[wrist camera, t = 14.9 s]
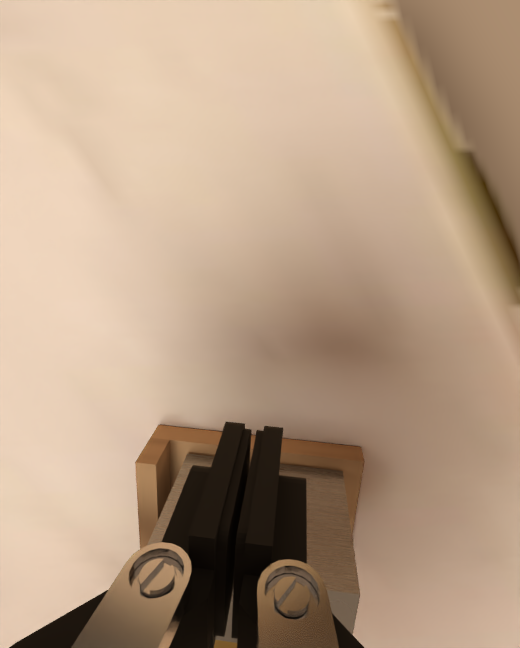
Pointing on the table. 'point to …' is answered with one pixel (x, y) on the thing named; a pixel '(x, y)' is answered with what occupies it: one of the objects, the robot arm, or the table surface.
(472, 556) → the table surface
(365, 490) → the table surface
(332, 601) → the bookend
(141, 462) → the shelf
